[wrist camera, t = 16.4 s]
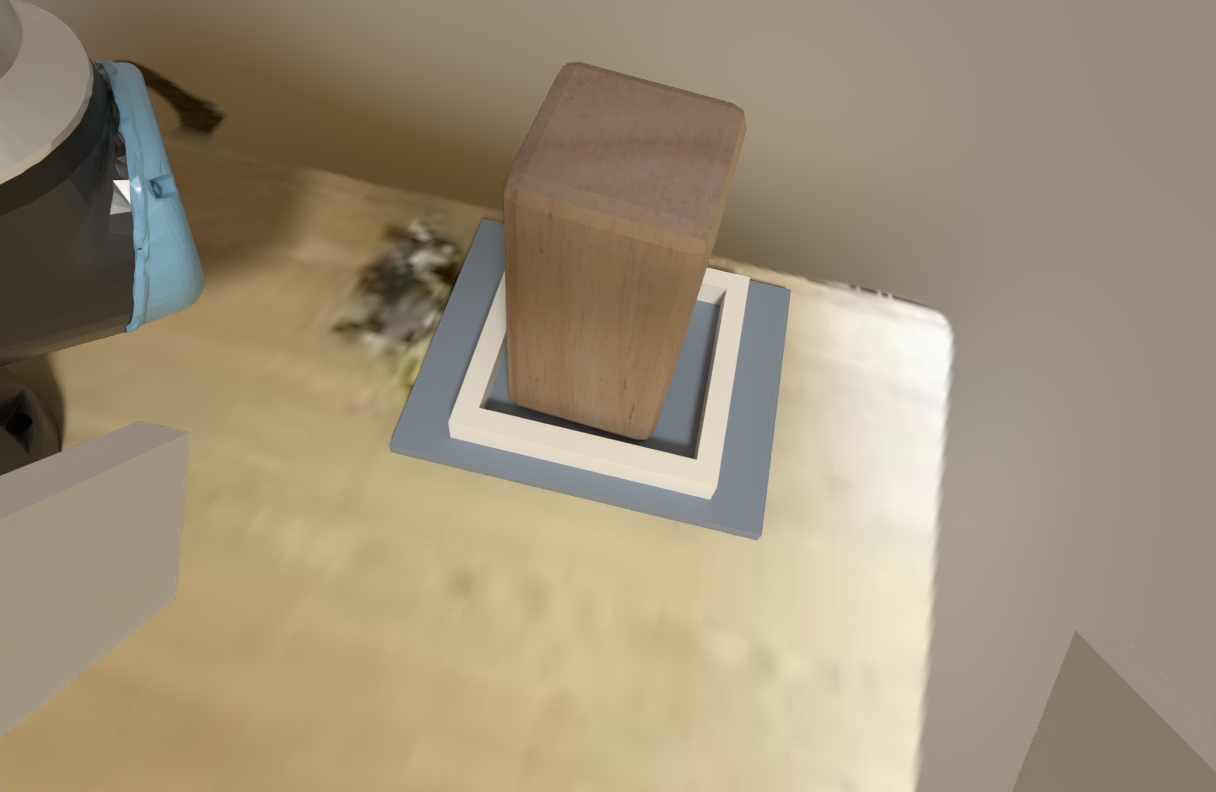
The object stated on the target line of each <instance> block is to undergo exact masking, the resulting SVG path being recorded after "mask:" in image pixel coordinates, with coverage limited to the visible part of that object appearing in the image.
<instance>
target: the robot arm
mask: <svg viewBox="0 0 1216 792" xmlns="http://www.w3.org/2000/svg"><path fill="white" fill-rule="evenodd" d="M204 280H205V278H204V272H203V269H202V265H201V262H200V259H199V255H198V252H197V249H196V246H195V242H194V239H193V236H192V233H191V230H190V227H189V224H188V220H187V217H186V214H185V211H184V208H183V205H182V201H181V198H180V195H179V192H178V189H177V185H176V182H175V178H174V175H173V172H172V169H171V166H170V162H169V159H168V156H167V153H166V149H165V146H164V143H163V139H162V136H161V133H160V130H159V127H158V123H157V120H156V117H155V114H154V110H153V107H152V104H151V101H150V98H149V94H148V91H147V88H146V85H145V82H144V79H143V75H142V73H141V72H140V70H139V69H138V68H137V67H135V66H134V65H133V64H130V63H126V62H118V63H114V62H112V61H110V60H106V59H104V60H102V61H100V62H95V64H93V62H92V61H91V59H90V57H89V55H88V53H87V51H86V49H85V48H84V46H83V45H82V43H81V42H80V41H79V39H78V38H77V36H76V35H75V34H74V33H73V31H72V30H71V29H70V28H69V26H67V25H66V24H65V23H64V22H62V21H61V20H60V19H58V18H57V17H56V16H54V15H52V14H51V13H49V12H47V11H45V10H43V9H41V8H39V7H37V6H34V5H32V4H30V3H27V2H25V1H21V0H0V738H1V737H3V736H4V735H5V734H6V733H8V732H9V731H10V730H11V729H13V728H14V727H15V726H16V725H18V724H19V723H20V722H21V721H23V720H24V719H25V718H27V717H28V716H29V715H30V714H32V713H33V712H34V711H35V710H37V709H38V708H39V707H40V706H42V705H43V704H44V703H46V702H47V701H48V700H49V699H51V698H52V697H53V696H54V695H56V694H57V693H58V692H59V691H61V690H62V689H63V688H64V687H66V686H67V685H68V684H70V683H71V682H72V681H73V680H75V679H76V678H77V677H78V676H80V675H81V674H82V673H83V672H85V671H86V670H87V669H89V668H90V667H91V666H92V665H94V664H95V663H96V662H97V661H99V660H100V659H101V658H102V657H104V656H105V655H106V654H108V653H109V652H110V651H111V650H113V649H114V648H115V647H116V646H118V645H119V644H120V643H121V642H123V641H124V640H125V639H126V638H128V637H129V636H130V635H132V634H133V633H134V632H135V631H137V630H138V629H139V628H140V627H142V626H143V625H144V624H145V623H147V622H148V621H149V620H151V619H152V618H153V617H154V616H156V615H157V614H158V613H159V612H161V611H162V610H163V609H164V608H166V607H167V606H168V605H169V604H171V603H172V602H173V601H175V600H176V594H177V581H178V569H179V557H180V545H181V533H182V521H183V509H184V497H185V485H186V473H187V461H188V449H189V437H190V432H187V431H183V430H178V429H174V428H169V427H165V426H160V425H156V424H151V423H147V422H142V421H138V422H135V423H133V424H130V425H128V426H125V427H123V428H120V429H118V430H115V431H113V432H110V433H107V434H105V435H102V436H100V437H97V438H95V439H92V440H90V441H87V442H85V443H82V444H80V445H77V446H75V447H72V448H70V449H67V450H64V451H62V452H59V437H58V431H57V426H56V423H55V420H54V418H53V415H52V413H51V411H50V410H49V408H48V406H47V405H46V403H45V402H44V401H43V400H42V399H41V397H40V396H39V395H38V394H37V393H36V392H34V391H33V390H32V389H31V388H30V387H29V386H28V385H27V384H26V383H25V382H24V381H23V380H22V379H21V378H20V377H18V376H17V375H16V374H15V373H13V372H12V371H10V370H9V369H7V368H5V367H4V366H3V365H7V364H10V363H14V362H18V361H21V360H25V359H29V358H32V357H36V356H40V355H43V354H47V353H51V352H54V351H58V350H62V349H65V348H69V347H73V346H76V345H80V344H84V343H87V342H91V341H94V340H98V339H102V338H105V337H109V336H113V335H116V334H120V333H124V332H125V333H129V332H133V331H135V330H137V329H138V328H139V327H140V325H143V324H145V323H148V322H151V321H154V320H157V319H160V318H162V317H165V316H168V315H171V314H174V313H177V312H179V311H182V310H185V309H187V308H188V307H190V306H191V305H193V304H194V303H195V302H196V301H197V300H198V298H199V297H200V295H201V294H202V291H203V289H204ZM1013 792H1216V723H1215V722H1214V721H1213V720H1212V719H1211V718H1210V717H1209V716H1208V715H1207V714H1206V713H1204V711H1202V710H1201V709H1200V708H1199V707H1198V706H1197V705H1196V704H1195V703H1194V702H1193V701H1192V700H1191V699H1189V698H1188V697H1187V696H1186V695H1185V694H1184V693H1183V692H1182V691H1181V690H1180V689H1179V688H1178V687H1176V686H1175V685H1174V684H1173V683H1172V682H1171V681H1170V680H1169V679H1168V678H1167V677H1166V676H1165V675H1163V674H1162V673H1161V672H1160V671H1159V670H1158V669H1157V668H1156V667H1155V666H1154V665H1153V664H1151V663H1150V662H1149V661H1148V660H1147V659H1146V658H1145V657H1144V656H1143V655H1142V654H1141V653H1140V652H1138V651H1137V650H1136V649H1135V648H1134V647H1133V646H1132V645H1131V644H1130V643H1129V642H1125V641H1121V640H1117V639H1112V638H1108V637H1103V636H1098V635H1094V634H1090V633H1085V632H1080V631H1075V633H1074V636H1073V638H1072V641H1071V643H1070V646H1069V648H1068V650H1067V654H1066V656H1065V658H1064V661H1063V663H1062V666H1061V668H1060V671H1059V673H1058V676H1057V678H1056V681H1055V684H1054V686H1053V689H1052V691H1051V694H1050V696H1049V699H1048V701H1047V704H1046V706H1045V709H1044V711H1043V714H1042V717H1041V719H1040V722H1039V724H1038V727H1037V729H1036V732H1035V735H1034V737H1033V739H1032V742H1031V744H1030V747H1029V750H1028V752H1027V755H1026V757H1025V760H1024V762H1023V765H1022V767H1021V770H1020V772H1019V775H1018V777H1017V780H1016V783H1015V785H1014V788H1013Z"/></svg>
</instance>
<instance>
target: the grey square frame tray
mask: <svg viewBox="0 0 1216 792" xmlns="http://www.w3.org/2000/svg"><path fill="white" fill-rule="evenodd" d="M790 293H791V290H789V289H785V288H781V287H776V286H772V285H768V284H764V283H759V282H755V281H751V280H750V277H746V276H741V275H737V274H733V273H729V272H724V271H720V270H716V269H711V268H707V269H706V272H705V275H704V278H703V281H702V284H701V288H700V291H699V294H698V297H697V300H696V303H695V306H694V310H693V313H692V316H691V319H690V322H689V325H688V328H687V332H686V335H685V338H684V341H683V344H682V347H681V351H680V354H679V357H678V360H677V363H676V366H675V369H674V373H673V376H672V379H671V382H670V385H669V388H668V391H667V395H666V398H665V401H664V404H663V407H662V410H661V413H660V417H659V420H658V423H657V426H656V429H655V431H654V432H653V434H652V435H651V436H650V437H649V438H648V439H647V440H645V441H635V440H632V439H629V438H625V437H622V436H619V435H615V434H612V433H608V432H605V431H602V430H598V429H595V428H592V427H588V426H585V425H582V424H578V423H575V422H571V421H568V420H565V419H561V418H558V417H555V416H551V415H548V414H545V413H541V412H538V411H534V410H531V409H528V408H524V407H521V406H518V405H517V404H515V403H514V402H512V401H511V400H510V399H509V397H508V372H507V332H506V293H505V253H504V223H501V222H497V221H492V220H488V219H484V218H482V221H481V223H480V226H479V228H478V231H477V233H476V235H475V238H474V240H473V243H472V245H471V248H470V250H469V252H468V255H467V257H466V260H465V262H464V265H463V267H462V269H461V272H460V274H459V277H458V279H457V282H456V284H455V287H454V289H453V291H452V294H451V296H450V299H449V301H448V304H447V306H446V308H445V311H444V313H443V316H442V318H441V321H440V323H439V325H438V328H437V330H436V333H435V335H434V338H433V340H432V343H431V345H430V347H429V350H428V352H427V355H426V357H425V360H424V362H423V364H422V367H421V369H420V372H419V374H418V377H417V379H416V381H415V384H414V386H413V389H412V391H411V394H410V396H409V398H408V401H407V403H406V406H405V408H404V411H403V413H402V416H401V418H400V420H399V423H398V425H397V428H396V430H395V433H394V435H393V437H392V440H391V442H390V448H391V452H394V453H398V454H402V455H406V456H410V457H414V458H419V459H423V460H427V461H431V462H435V463H439V464H444V465H448V466H452V467H456V468H460V469H464V470H468V471H473V472H477V473H481V474H485V475H489V476H493V477H497V478H502V479H506V480H510V481H514V482H518V483H522V484H526V485H531V486H535V487H539V488H543V489H547V490H551V491H555V492H560V493H564V494H568V495H572V496H576V497H580V498H585V499H589V500H593V501H597V502H601V503H605V504H609V505H614V506H618V507H622V508H626V509H630V510H634V511H638V512H643V513H647V514H651V515H655V516H659V517H663V518H667V519H672V520H676V521H680V522H684V523H688V524H692V525H697V526H701V527H705V528H709V529H713V530H717V531H721V532H726V533H730V534H734V535H738V536H742V537H746V538H750V539H755V540H758V539H759V537H760V536H761V535H762V527H763V519H764V511H765V502H766V494H767V486H768V477H769V469H770V460H771V452H772V444H773V435H774V427H775V418H776V410H777V402H778V393H779V385H780V377H781V368H782V360H783V351H784V343H785V335H786V326H787V318H788V309H789V301H790Z"/></svg>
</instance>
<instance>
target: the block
mask: <svg viewBox="0 0 1216 792" xmlns="http://www.w3.org/2000/svg"><path fill="white" fill-rule="evenodd" d="M746 130H747V129H746V123H745V117H744V111H743V110H742V109H741V108H739V107H738V106H736V105H735V104H733V103H730V102H726V101H722V100H719V99H715V98H711V97H708V96H704V95H700V94H696V93H693V92H688V91H685V90H681V89H677V88H674V87H670V86H667V85H663V84H659V83H656V82H652V81H648V80H644V79H641V78H637V77H633V76H630V75H626V74H622V73H618V72H615V71H611V70H607V69H604V68H600V67H596V66H592V65H589V64H585V63H581V62H575V63H567V64H566V65H565V66H563V67H562V69H561V70H560V72H559V74H558V76H557V77H556V79H555V81H554V83H553V85H552V87H551V89H550V91H549V93H548V95H547V97H546V99H545V101H544V103H543V105H542V107H541V109H540V111H539V113H538V115H537V117H536V119H535V121H534V123H533V125H532V127H531V129H530V131H529V133H528V135H527V137H526V139H525V141H524V143H523V145H522V147H521V149H520V151H519V153H518V155H517V157H516V159H515V161H514V163H513V165H512V167H511V169H510V171H509V173H508V175H507V177H506V179H505V181H504V183H503V214H504V253H505V293H506V332H507V372H508V397H509V399H510V400H511V401H512V402H514V403H515V404H517V405H518V406H521V407H524V408H528V409H531V410H534V411H538V412H541V413H545V414H548V415H551V416H555V417H558V418H561V419H565V420H568V421H571V422H575V423H578V424H582V425H585V426H588V427H592V428H595V429H598V430H602V431H605V432H608V433H612V434H615V435H619V436H622V437H625V438H629V439H632V440H635V441H645V440H647V439H648V438H649V437H650V436H651V435H652V434H653V432H654V431H655V429H656V426H657V423H658V420H659V417H660V413H661V410H662V407H663V404H664V401H665V398H666V395H667V391H668V388H669V385H670V382H671V379H672V376H673V373H674V369H675V366H676V363H677V360H678V357H679V354H680V351H681V347H682V344H683V341H684V338H685V335H686V332H687V328H688V325H689V322H690V319H691V316H692V313H693V310H694V306H695V303H696V300H697V297H698V294H699V291H700V288H701V284H702V281H703V278H704V275H705V272H706V269H707V266H708V262H709V259H710V256H711V253H712V250H713V246H714V244H715V240H716V236H717V233H718V229H719V226H720V222H721V219H722V215H723V212H724V208H725V204H726V201H727V197H728V194H729V190H730V187H731V183H732V179H733V176H734V172H735V169H736V165H737V162H738V158H739V154H740V151H741V147H742V144H743V140H744V137H745V133H746Z"/></svg>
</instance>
